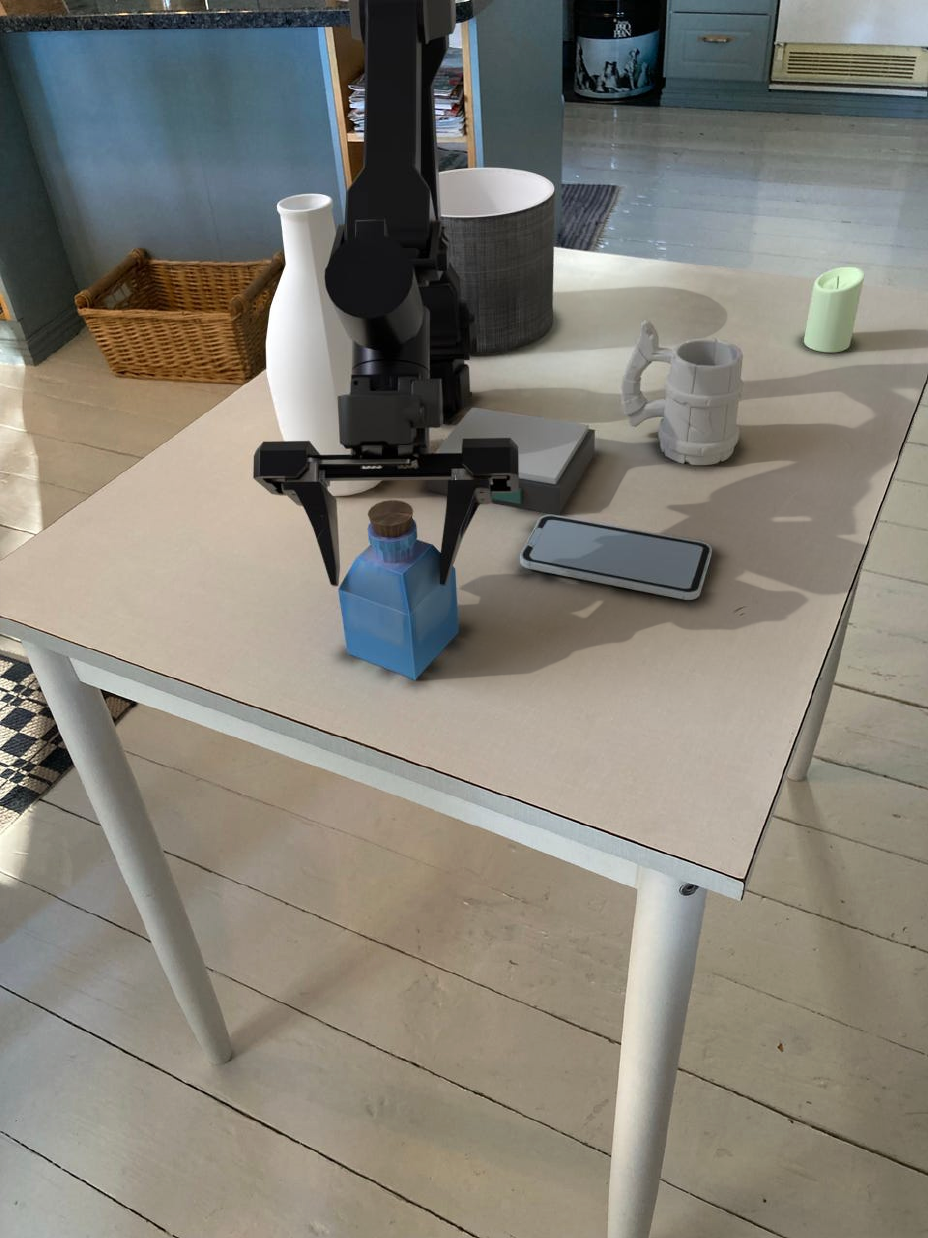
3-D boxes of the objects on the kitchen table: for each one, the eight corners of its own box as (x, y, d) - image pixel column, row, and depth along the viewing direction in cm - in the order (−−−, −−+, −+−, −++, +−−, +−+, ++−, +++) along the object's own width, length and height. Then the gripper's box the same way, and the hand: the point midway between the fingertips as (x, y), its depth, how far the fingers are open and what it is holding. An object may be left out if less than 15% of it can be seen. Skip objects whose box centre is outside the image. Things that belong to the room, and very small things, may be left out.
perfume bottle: (415, 680, 73) (402, 547, 66) (347, 653, 76) (328, 522, 68) (458, 632, 77) (451, 502, 70) (393, 608, 80) (379, 480, 72)
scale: (425, 493, 93) (422, 460, 91) (470, 435, 101) (469, 403, 99) (557, 517, 89) (558, 484, 87) (594, 454, 97) (595, 422, 95)
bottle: (421, 455, 98) (397, 186, 82) (366, 514, 91) (328, 230, 75) (324, 435, 102) (283, 176, 86) (264, 491, 95) (207, 217, 78)
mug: (726, 474, 93) (742, 353, 85) (605, 451, 97) (611, 334, 90) (745, 435, 98) (762, 319, 91) (630, 415, 102) (637, 302, 95)
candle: (817, 355, 111) (830, 283, 106) (795, 337, 115) (807, 267, 109) (858, 349, 112) (873, 277, 106) (835, 331, 115) (849, 261, 110)
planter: (518, 366, 112) (516, 224, 102) (381, 343, 119) (367, 207, 109) (574, 306, 125) (577, 174, 114) (447, 289, 131) (440, 162, 121)
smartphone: (698, 596, 78) (516, 560, 82) (697, 605, 79) (516, 569, 83) (714, 543, 83) (542, 512, 88) (712, 552, 84) (542, 521, 88)
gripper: (232, 334, 65) (226, 570, 64) (517, 328, 64) (517, 568, 63) (275, 390, 76) (271, 591, 75) (518, 385, 75) (519, 590, 74)
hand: (388, 585), depth 71 cm, fingers open, 7 cm apart
